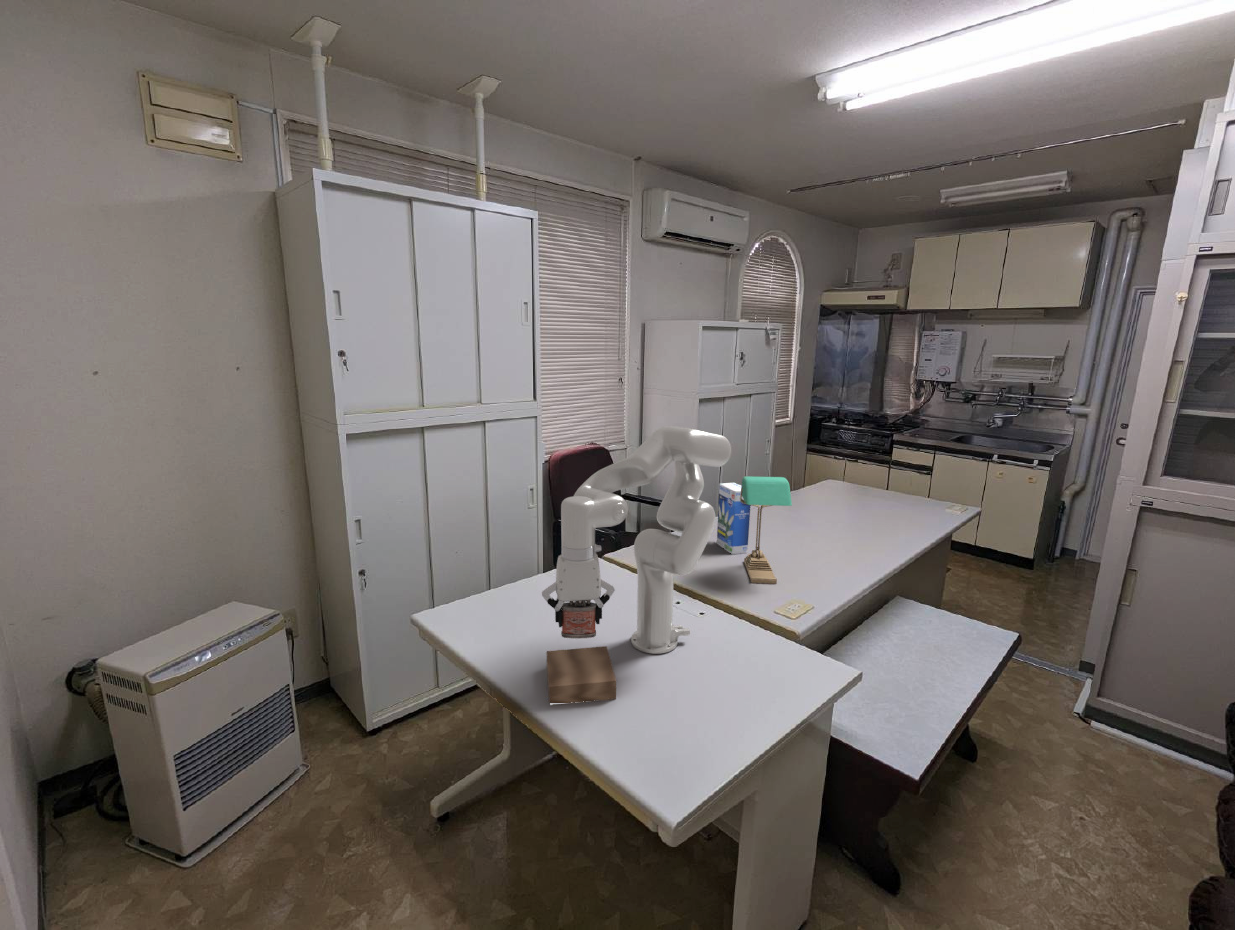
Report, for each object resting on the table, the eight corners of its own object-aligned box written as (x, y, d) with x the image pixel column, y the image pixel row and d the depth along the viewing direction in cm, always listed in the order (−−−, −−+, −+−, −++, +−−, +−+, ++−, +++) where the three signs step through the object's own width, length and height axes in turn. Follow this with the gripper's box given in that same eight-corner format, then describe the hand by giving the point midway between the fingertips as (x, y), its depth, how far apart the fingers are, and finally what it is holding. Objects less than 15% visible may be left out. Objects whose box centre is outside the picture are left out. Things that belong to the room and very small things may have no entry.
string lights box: (716, 543, 224) (718, 483, 219) (732, 542, 227) (735, 482, 222) (731, 554, 212) (734, 490, 207) (749, 552, 214) (752, 489, 209)
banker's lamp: (776, 563, 204) (782, 472, 197) (788, 586, 183) (795, 485, 176) (734, 561, 205) (738, 471, 198) (741, 584, 185) (746, 484, 178)
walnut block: (606, 664, 137) (606, 646, 136) (616, 700, 123) (616, 680, 122) (547, 669, 135) (546, 651, 134) (549, 707, 120) (549, 686, 119)
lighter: (596, 631, 128) (596, 591, 126) (596, 638, 125) (596, 597, 123) (562, 631, 128) (561, 591, 126) (561, 638, 124) (560, 598, 122)
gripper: (613, 543, 127) (612, 612, 131) (538, 547, 124) (540, 618, 128) (619, 555, 120) (618, 627, 124) (540, 559, 117) (541, 634, 120)
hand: (578, 622), depth 126 cm, fingers closed on lighter, 8 cm apart
